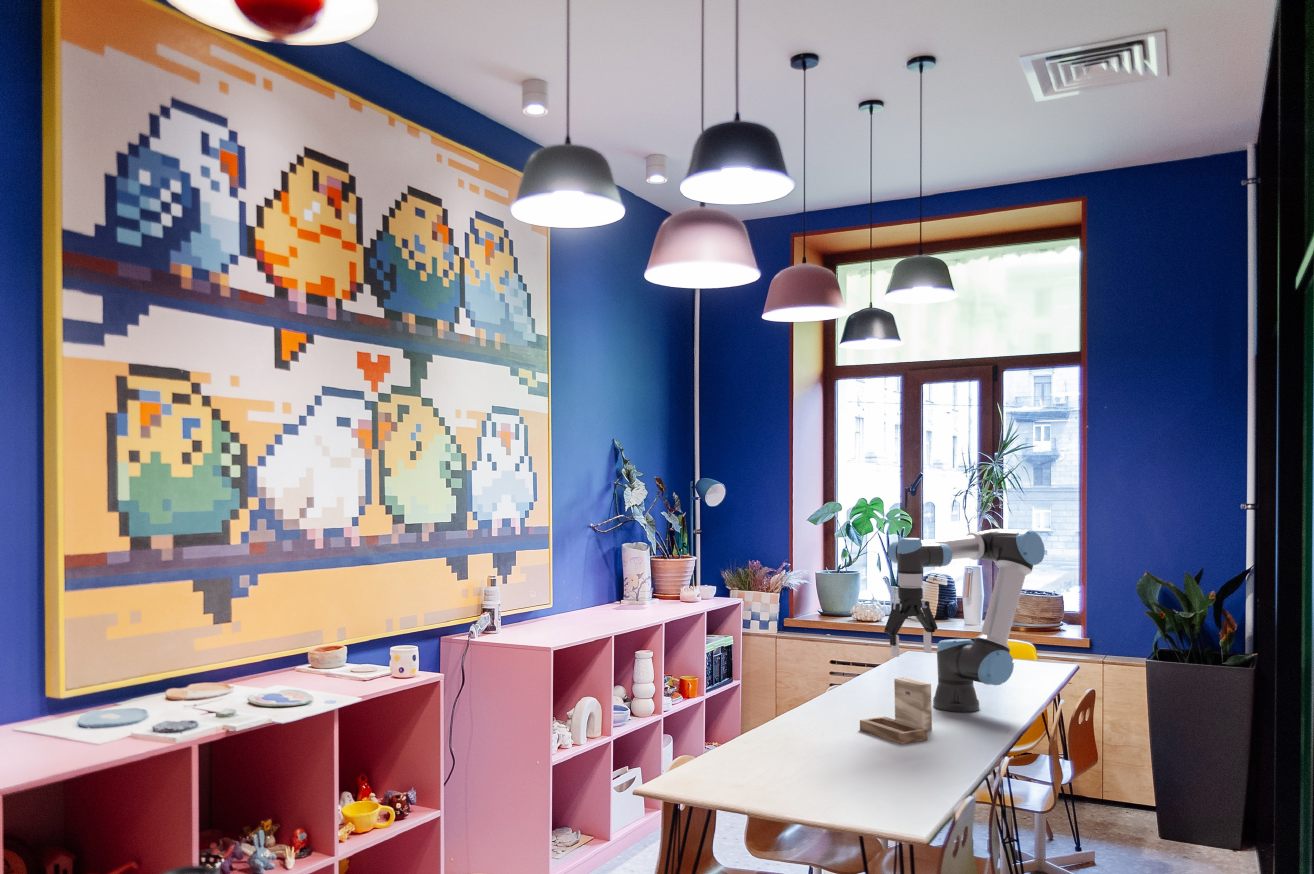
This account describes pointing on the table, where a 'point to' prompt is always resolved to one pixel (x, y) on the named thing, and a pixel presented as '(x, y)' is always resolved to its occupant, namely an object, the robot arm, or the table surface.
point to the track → (893, 730)
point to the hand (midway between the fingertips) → (911, 654)
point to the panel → (913, 702)
